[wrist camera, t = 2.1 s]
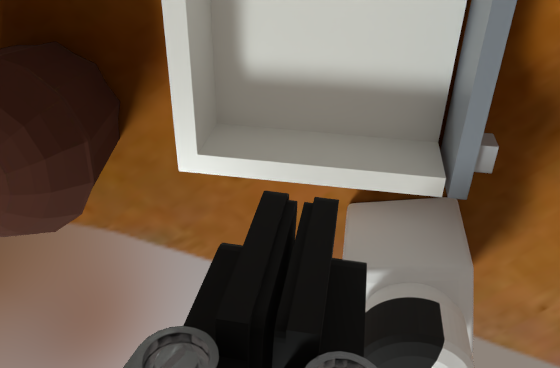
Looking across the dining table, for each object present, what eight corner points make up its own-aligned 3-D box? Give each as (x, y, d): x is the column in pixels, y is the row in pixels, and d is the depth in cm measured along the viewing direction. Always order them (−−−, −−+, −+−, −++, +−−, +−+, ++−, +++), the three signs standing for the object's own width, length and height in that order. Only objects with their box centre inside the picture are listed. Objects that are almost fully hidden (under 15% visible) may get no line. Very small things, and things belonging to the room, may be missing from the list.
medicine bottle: (357, 281, 38) (351, 428, 28) (346, 201, 35) (334, 337, 25) (458, 278, 37) (488, 433, 27) (457, 194, 33) (491, 336, 23)
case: (179, -210, 24) (138, -226, 20) (505, -209, 22) (535, -227, 18) (203, 133, 34) (178, 171, 30) (433, 153, 32) (441, 197, 28)
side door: (516, -228, 22) (546, -248, 18) (573, -228, 21) (616, -249, 18) (437, 157, 32) (445, 197, 28) (476, 160, 31) (489, 201, 27)
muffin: (-2, -18, 31) (-146, 25, 22) (163, 76, 32) (87, 149, 24) (-32, 133, 37) (-153, 210, 29) (108, 206, 38) (32, 300, 30)
